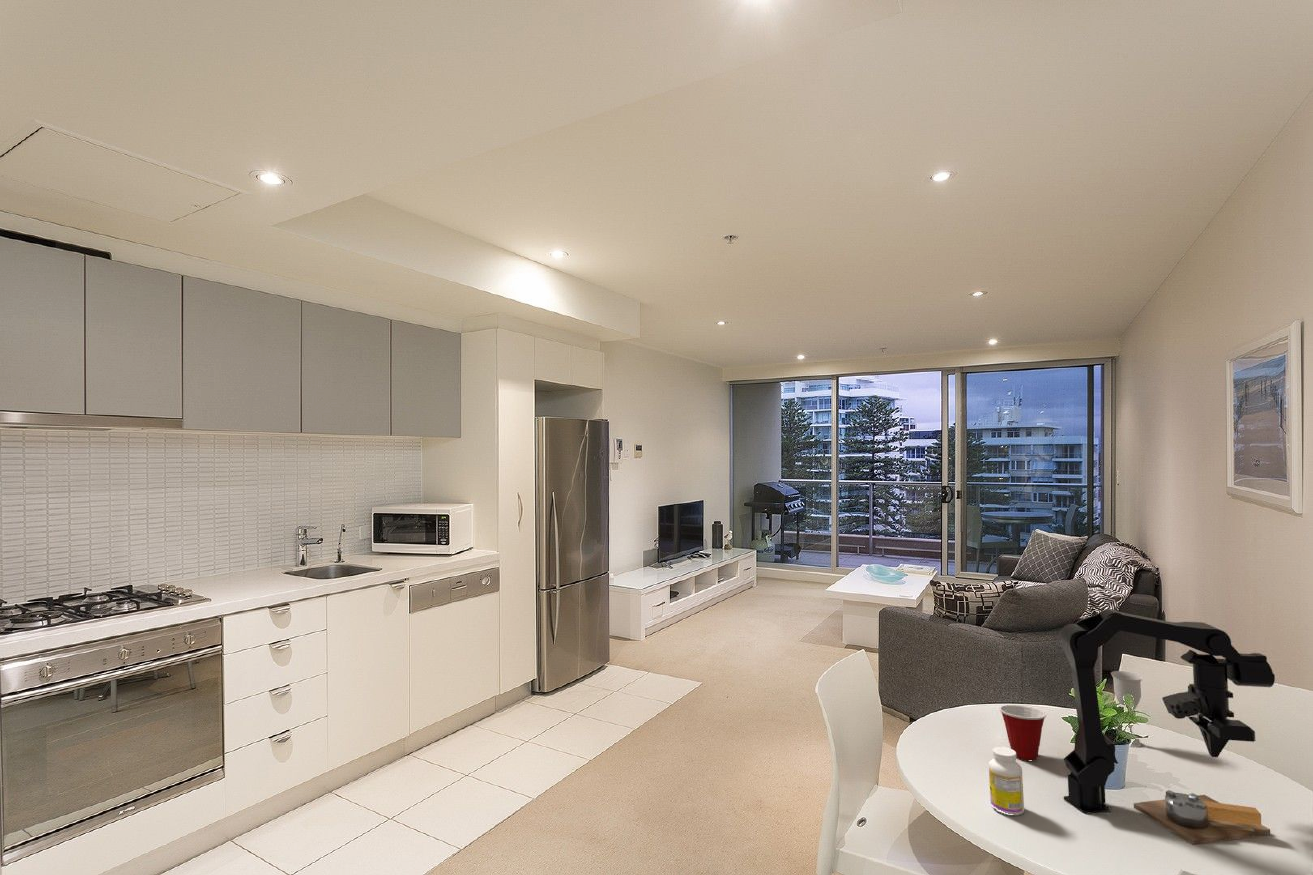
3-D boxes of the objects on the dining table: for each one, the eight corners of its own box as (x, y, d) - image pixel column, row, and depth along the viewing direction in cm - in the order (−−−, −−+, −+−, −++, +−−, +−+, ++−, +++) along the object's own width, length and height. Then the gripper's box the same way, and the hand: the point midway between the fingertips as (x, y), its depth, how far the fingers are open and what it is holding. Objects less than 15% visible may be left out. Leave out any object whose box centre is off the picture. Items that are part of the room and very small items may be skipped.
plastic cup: (1049, 752, 173) (1047, 706, 173) (1048, 769, 164) (1045, 720, 164) (1003, 743, 179) (1000, 699, 179) (999, 759, 170) (997, 713, 170)
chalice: (1107, 738, 180) (1104, 671, 180) (1131, 736, 181) (1127, 670, 181) (1129, 749, 173) (1125, 680, 173) (1153, 747, 173) (1149, 679, 174)
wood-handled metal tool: (1172, 824, 136) (1171, 803, 136) (1161, 807, 143) (1159, 787, 143) (1267, 838, 130) (1266, 816, 131) (1250, 820, 137) (1249, 799, 137)
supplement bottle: (996, 798, 151) (993, 741, 152) (1028, 808, 146) (1025, 750, 147) (986, 809, 147) (983, 751, 147) (1018, 820, 142) (1015, 760, 142)
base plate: (1193, 844, 131) (1193, 839, 131) (1133, 807, 145) (1133, 802, 145) (1270, 834, 134) (1270, 829, 134) (1204, 799, 148) (1204, 794, 148)
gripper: (1146, 667, 153) (1149, 735, 152) (1191, 697, 135) (1194, 773, 134) (1202, 670, 150) (1205, 739, 150) (1255, 700, 132) (1258, 779, 132)
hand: (1213, 756), depth 141 cm, fingers closed
